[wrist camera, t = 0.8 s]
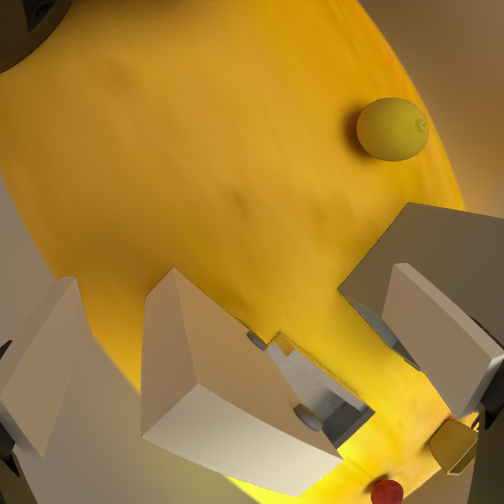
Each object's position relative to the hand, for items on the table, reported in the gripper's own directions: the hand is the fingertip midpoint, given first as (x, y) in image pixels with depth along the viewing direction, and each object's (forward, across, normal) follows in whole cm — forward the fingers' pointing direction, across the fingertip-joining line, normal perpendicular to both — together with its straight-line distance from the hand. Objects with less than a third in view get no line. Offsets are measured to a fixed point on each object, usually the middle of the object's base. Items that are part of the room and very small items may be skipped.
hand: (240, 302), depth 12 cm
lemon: (+18, +13, +6) cm, 23 cm away
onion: (+10, +25, -48) cm, 55 cm away
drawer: (+12, +8, -19) cm, 24 cm away
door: (+12, -2, -9) cm, 16 cm away
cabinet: (+16, +19, -9) cm, 26 cm away
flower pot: (+13, +39, -42) cm, 58 cm away
